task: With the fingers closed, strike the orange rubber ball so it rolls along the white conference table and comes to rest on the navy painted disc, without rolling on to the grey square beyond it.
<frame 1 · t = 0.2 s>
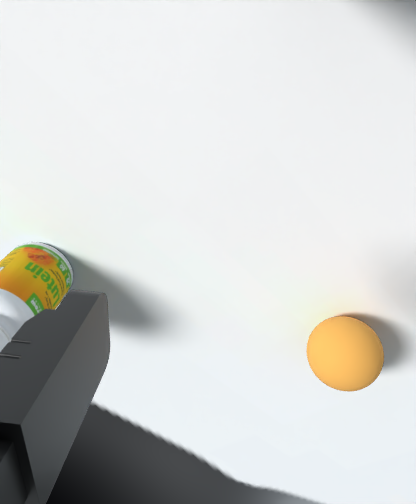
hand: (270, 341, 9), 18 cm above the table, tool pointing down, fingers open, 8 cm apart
ball: (344, 352, 29), on the table
supplement bottle: (44, 267, 31), on the table
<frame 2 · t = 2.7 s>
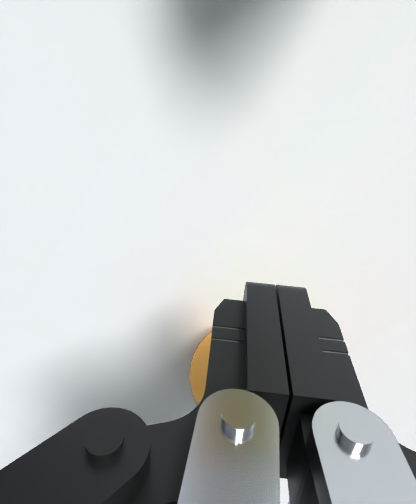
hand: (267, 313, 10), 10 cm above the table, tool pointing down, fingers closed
ball: (242, 374, 20), on the table
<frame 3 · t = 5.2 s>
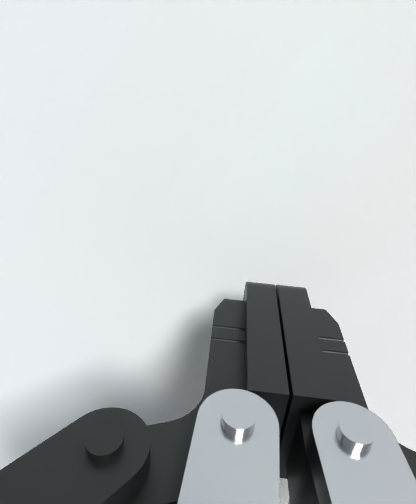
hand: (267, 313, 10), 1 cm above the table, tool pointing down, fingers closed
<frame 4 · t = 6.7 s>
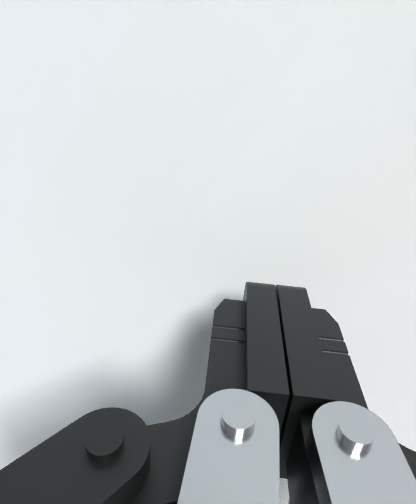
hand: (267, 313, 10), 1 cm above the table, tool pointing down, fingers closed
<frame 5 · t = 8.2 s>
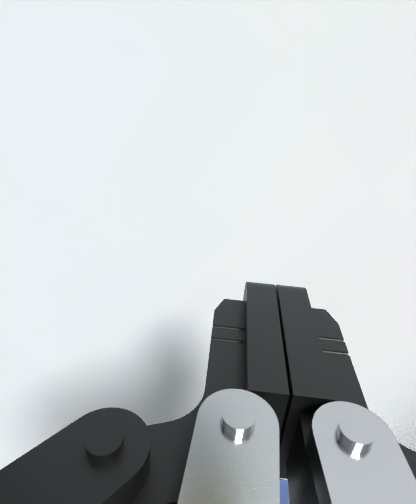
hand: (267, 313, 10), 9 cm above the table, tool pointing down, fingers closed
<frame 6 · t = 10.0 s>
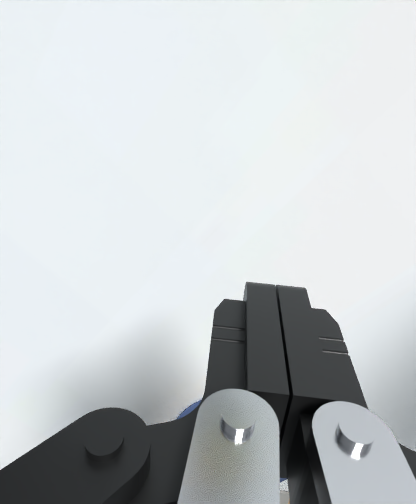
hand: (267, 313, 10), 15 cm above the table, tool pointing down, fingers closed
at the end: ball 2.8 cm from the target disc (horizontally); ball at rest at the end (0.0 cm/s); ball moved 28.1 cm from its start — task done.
